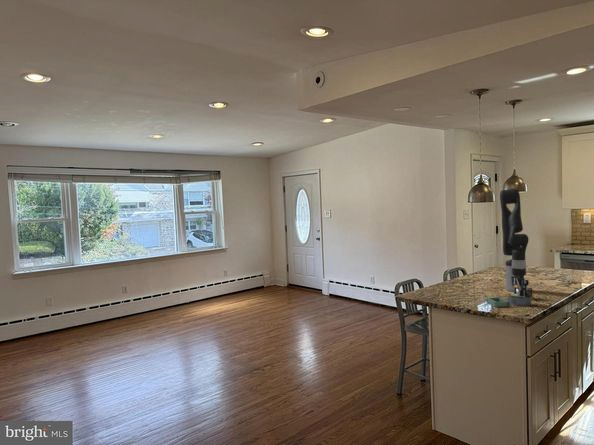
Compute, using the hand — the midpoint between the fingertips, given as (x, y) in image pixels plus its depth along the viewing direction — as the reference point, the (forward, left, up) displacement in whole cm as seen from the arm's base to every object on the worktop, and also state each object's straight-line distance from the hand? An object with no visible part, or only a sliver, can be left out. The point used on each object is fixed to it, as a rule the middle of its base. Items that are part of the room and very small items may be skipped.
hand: (519, 294), depth 248 cm
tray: (0, -13, -5) cm, 14 cm away
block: (0, 0, -5) cm, 5 cm away
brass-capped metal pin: (0, 0, -5) cm, 5 cm away
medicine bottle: (-14, +10, -6) cm, 18 cm away
